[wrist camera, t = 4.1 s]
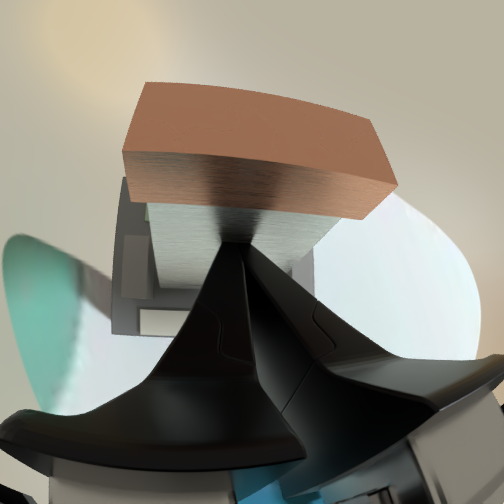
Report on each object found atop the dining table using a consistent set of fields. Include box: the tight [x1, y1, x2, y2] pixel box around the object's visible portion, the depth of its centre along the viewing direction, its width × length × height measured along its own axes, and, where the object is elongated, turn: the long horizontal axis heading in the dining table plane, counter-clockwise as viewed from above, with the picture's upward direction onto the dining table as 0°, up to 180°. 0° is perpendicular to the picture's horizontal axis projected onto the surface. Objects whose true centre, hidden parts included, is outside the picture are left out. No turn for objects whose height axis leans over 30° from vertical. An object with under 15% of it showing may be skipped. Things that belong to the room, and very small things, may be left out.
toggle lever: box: [122, 82, 398, 289], centre depth 9 cm, size 2×6×9 cm, turn 89°
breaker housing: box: [111, 177, 315, 338], centre depth 14 cm, size 8×10×6 cm
